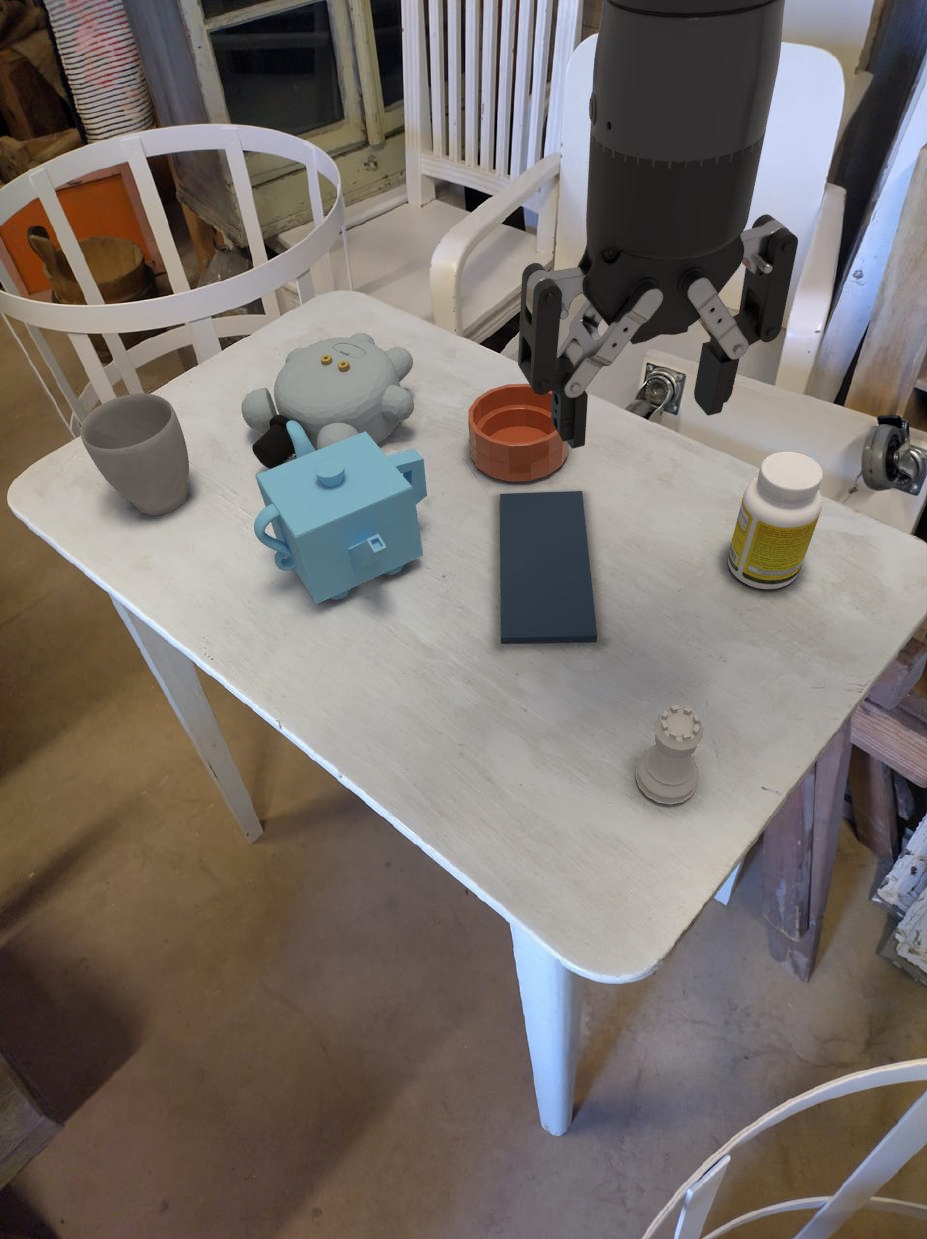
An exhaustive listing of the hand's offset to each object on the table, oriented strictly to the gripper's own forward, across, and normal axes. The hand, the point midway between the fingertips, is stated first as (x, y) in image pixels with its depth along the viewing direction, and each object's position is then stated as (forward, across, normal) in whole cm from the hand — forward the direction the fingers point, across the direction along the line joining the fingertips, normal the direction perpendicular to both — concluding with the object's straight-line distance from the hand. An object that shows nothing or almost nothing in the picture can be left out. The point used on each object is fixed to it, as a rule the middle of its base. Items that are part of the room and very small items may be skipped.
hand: (640, 423), depth 48 cm
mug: (+24, -36, +36) cm, 56 cm away
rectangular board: (+24, -1, +13) cm, 27 cm away
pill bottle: (+25, +17, +6) cm, 30 cm away
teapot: (+24, -18, +20) cm, 36 cm away
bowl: (+24, +2, +28) cm, 38 cm away
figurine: (+24, -16, +39) cm, 49 cm away
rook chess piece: (+25, 0, -11) cm, 27 cm away
